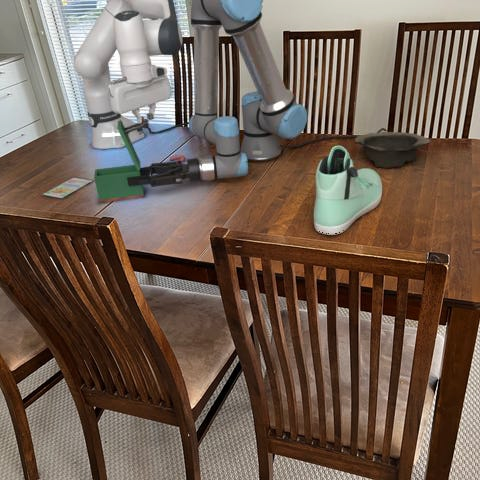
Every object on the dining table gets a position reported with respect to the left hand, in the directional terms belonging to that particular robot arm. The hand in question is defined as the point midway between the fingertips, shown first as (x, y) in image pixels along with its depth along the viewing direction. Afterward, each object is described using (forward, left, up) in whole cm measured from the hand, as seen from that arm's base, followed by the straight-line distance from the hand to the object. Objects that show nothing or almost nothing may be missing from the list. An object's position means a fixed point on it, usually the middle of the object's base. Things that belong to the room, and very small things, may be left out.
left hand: (146, 121), depth 145 cm
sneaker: (-27, +55, -24) cm, 66 cm away
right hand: (+7, -6, -18) cm, 20 cm away
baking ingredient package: (+17, -29, -24) cm, 41 cm away
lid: (+6, -4, -7) cm, 10 cm away
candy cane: (-17, -15, -24) cm, 33 cm away
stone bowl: (-67, +45, -24) cm, 84 cm away
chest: (+9, -8, -24) cm, 27 cm away
